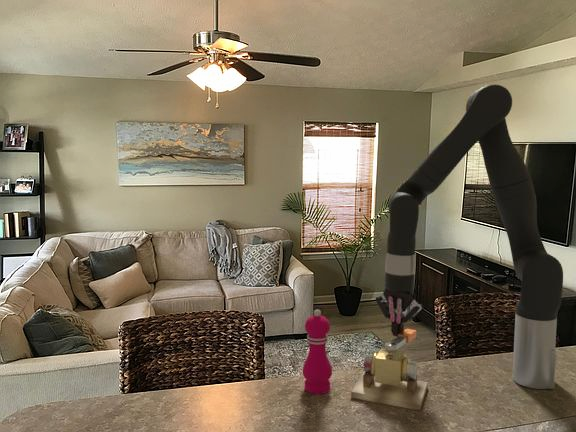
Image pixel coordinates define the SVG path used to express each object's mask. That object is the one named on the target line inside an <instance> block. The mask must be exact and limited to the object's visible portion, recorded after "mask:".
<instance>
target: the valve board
mask: <svg viewBox="0 0 576 432" xmlns="http://www.w3.org/2000/svg"><path fill="white" fill-rule="evenodd" d="M427 390H428V381H425V380H418V375H417V376H416V379H415V380H414V379H408V381H407V382H405V381H403V382H402V384H401V386H394V385H388V384H383V383H377V382H375V377H374V376H371V372H365V371H363V373H362V374H361V375H360V377H359V379H357V382H356V384H355V385H354V386H353V387H352V390H351V392H350V397H351V399H355V400H356V399H357V400H361V401H368V402H373V403H378V404H383V405H389V406H395V407H400V408H404V409H409V410H415V411H421V409H422V407H423V403H424V400H425V396H426V393H427Z"/></svg>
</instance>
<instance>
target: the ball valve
mask: <svg viewBox="0 0 576 432" xmlns="http://www.w3.org/2000/svg"><path fill="white" fill-rule="evenodd" d="M363 370H364V371H363V372H371V376H374V377H375V382H377V383H383V384H388V385H394V386H401V384H402V382H403V381H405V382H407V381H408V379H414V380H415V379H416V376H417V377H418V362H417V361H412V360H411V358H410V357H408V356H407V355H406V351H402V350H397V351H396V352H394V353H389V352H386V351H385V348H382V347H381V348H380V349H379V351H378V352H372V355H371V354H365V357H364V361H363Z"/></svg>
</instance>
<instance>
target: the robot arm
mask: <svg viewBox="0 0 576 432" xmlns="http://www.w3.org/2000/svg"><path fill="white" fill-rule="evenodd" d="M512 107H513V97H512V94H511V93H510V91H509V90H508V88H506V87H504V86H503V85H501V84H494V83H493V84H487V85H484V86H482V87H480V88H479V89H476V90H475V91H474V92H472V94H470V96H469V97H468V99H467V100H466V104H465V113H464V115H463V116H462V118H461V119H460V120H459V122H458V123H457V124H456V126H455V127H454V128H453V129H452V130H451V131H450V132H449V133H448V134H447V135H446V136H445V137H444V138H443V139H442V141H440V142H439V143H438V145H436V146H435V147H434V148H433V149H432V150H431V152H430V153H429V154H427V156H426V157H425V158H424V159H423V161H421V163H419V165H418V167H416V169H414V171H413V172H412V174H411V175H410V177H408V178H407V180H406V181H404V183H402V184H401V185H400V187H399V188H398V189H397V190H396V191H395V192H394V193H393V194H392V195H391V196H390V198H389V200H388V202H387V208H388V211H389V232H388V234H387V245H386V256H385V262H384V263H385V264H384V290H383V293H382V294H381V295H378V296H377V297H375V302H376V303H377V305H378V307H379V308H380V311H381V312H382V314H383V316H384V318H386V319H389V320H390V322H391V325H390V326H391V328H390V332H391V333H392V336H393V337H395V338H397V337H398V336H399V333H401V332H402V331H404V330H405V328H404V327H405V324H407V323H408V322H410V321H412V320H413V319H414V318H415V317H416V316H417V315H418V313H419V312H420V311H421V310H422V309H423V307H424V306H423V305H422V304H421V303H418V302H417V301H416V297H415V291H414V290H415V285H416V284H415V282H416V281H415V280H416V263H417V262H416V238H417V237H416V235H417V234H416V233H417V229H418V221H419V212H420V207H419V206H420V205H421V203H422V202H424V200H426V198H427V197H428V196H429V195H431V194H433V193H434V192H436V190H437V189H439V187H440V186H441V184H443V183H444V181H445V180H446V179H447V178H448V177H449V175H451V173H452V172H453V170H455V168H456V167H457V166H458V165H459V163H460V162H461V161H462V159H463V158H464V157H465V156H466V155H467V153H468V152H469V151H471V149H472V148H473V147H474V146H475V145H476V144H477V143H478V144H479V147H480V149H481V153H482V158H483V162H484V165H485V166H484V167H485V170H486V171H485V172H486V174H487V178H488V182H489V186H490V189H491V192H492V196H493V200H494V202H495V204H496V208H497V211H498V213H499V216H500V220H501V221H502V225H503V226H504V229H505V232H506V235H507V238H508V243H509V247H510V248H509V249H510V252H511V253H510V254H511V258H512V263H513V268H514V272H515V275H516V277H517V278H518V279H519V280H520V281H521V289H520V297H519V300H518V301H517V302H516V304H515V316H514V317H515V319H514V322H515V323H514V339H513V341H514V342H513V357H512V358H513V361H512V379H513V381H514V382H515V383H517V385H520V386H523V387H525V388H530V389H534V390H546V389H550V390H551V389H552V390H555V382H556V381H555V380H556V379H555V378H556V366H557V365H556V364H557V363H556V362H557V349H556V341H557V340H556V338H557V337H556V336H557V322H558V319H557V318H558V313H559V312H558V311H559V309H560V307H561V305H562V295H563V287H564V286H563V285H564V270H563V266H562V263H561V262H560V261H559V260H558V259H557V258H556V257H555V256H553V255H551V254H550V253H548V252H547V250H546V248H545V246H544V243H543V241H542V237H541V235H540V232H539V228H538V227H539V226H538V222H537V221H538V218H537V217H538V215H537V214H538V211H537V210H538V207H537V206H538V204H537V203H538V202H537V195H536V192H535V187H534V184H533V181H532V177H531V175H530V172H529V170H528V167H527V164H526V162H525V161H524V160H523V158H522V156H521V154H520V153H519V151H518V150H517V148H516V146H515V145H514V143H513V141H512V139H511V137H510V132H509V128H508V124H507V120H506V119H507V118H506V117H508V116H509V114H510V112H511V110H512ZM409 307H410V311H409V312H408V309H409Z"/></svg>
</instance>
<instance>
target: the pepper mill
mask: <svg viewBox="0 0 576 432" xmlns="http://www.w3.org/2000/svg"><path fill="white" fill-rule="evenodd" d="M330 328H331V327H330V322H329V320H328V318H326V316H324V315H322V312H321V310H320V309H315V310H313V315H311V316H309V317H308V318H307V319H306V320H305V323H304V330H305V332H306V333H307V335H306V338H307V339H306V341H307V343H308V345H309V346H308V354H307V356H306V359H305V360H304V362H303V366H302V375H303V377H304V378H305V380H304V390H305V391H306V392H307V393H310V394H313V395H323V394H326V393H328V392H329V391H330V389H331V381H330V379H331V377H332V375H333V368H332V365H331V362H330V360H329V358H328V356H327V352H326V350H327V349H326V345H327V343H328V333H329V331H330Z"/></svg>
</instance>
